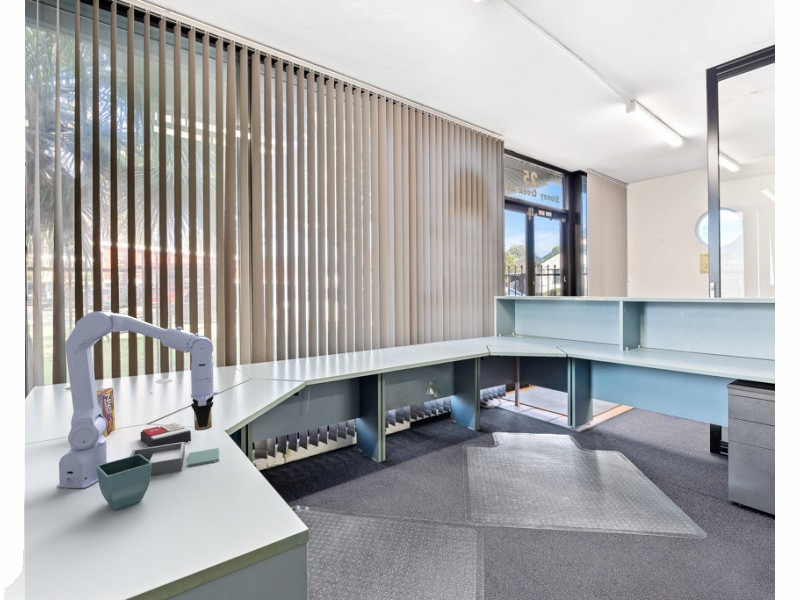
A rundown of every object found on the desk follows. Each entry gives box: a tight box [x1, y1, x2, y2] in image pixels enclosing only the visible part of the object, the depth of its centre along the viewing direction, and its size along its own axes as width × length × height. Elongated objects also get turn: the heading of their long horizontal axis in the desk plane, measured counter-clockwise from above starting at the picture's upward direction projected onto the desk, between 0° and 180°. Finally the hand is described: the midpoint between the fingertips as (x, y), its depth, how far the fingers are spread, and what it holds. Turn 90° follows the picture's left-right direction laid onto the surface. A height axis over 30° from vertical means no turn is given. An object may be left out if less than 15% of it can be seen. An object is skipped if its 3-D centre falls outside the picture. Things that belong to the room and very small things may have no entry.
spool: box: [193, 409, 213, 431], centre depth 112 cm, size 4×4×6 cm
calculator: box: [140, 422, 192, 448], centre depth 127 cm, size 11×4×15 cm
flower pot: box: [96, 454, 152, 511], centre depth 88 cm, size 9×9×9 cm
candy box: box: [96, 387, 116, 438], centre depth 133 cm, size 9×4×15 cm, turn 17°
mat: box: [186, 447, 220, 468], centre depth 112 cm, size 8×9×1 cm
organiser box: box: [129, 442, 186, 478], centre depth 107 cm, size 13×13×4 cm
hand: (203, 424), depth 112 cm, fingers closed on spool, 4 cm apart
